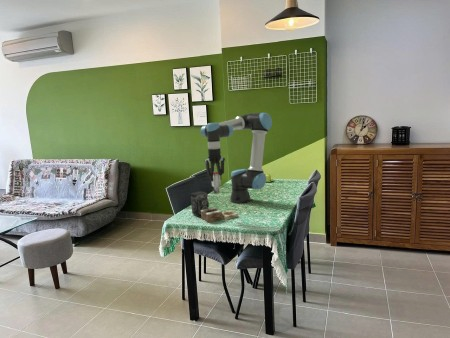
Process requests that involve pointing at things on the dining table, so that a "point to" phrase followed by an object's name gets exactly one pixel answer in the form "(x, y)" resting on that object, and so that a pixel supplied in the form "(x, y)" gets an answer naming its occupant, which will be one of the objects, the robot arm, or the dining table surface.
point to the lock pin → (216, 182)
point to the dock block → (211, 215)
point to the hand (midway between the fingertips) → (216, 185)
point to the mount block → (229, 214)
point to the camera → (199, 202)
